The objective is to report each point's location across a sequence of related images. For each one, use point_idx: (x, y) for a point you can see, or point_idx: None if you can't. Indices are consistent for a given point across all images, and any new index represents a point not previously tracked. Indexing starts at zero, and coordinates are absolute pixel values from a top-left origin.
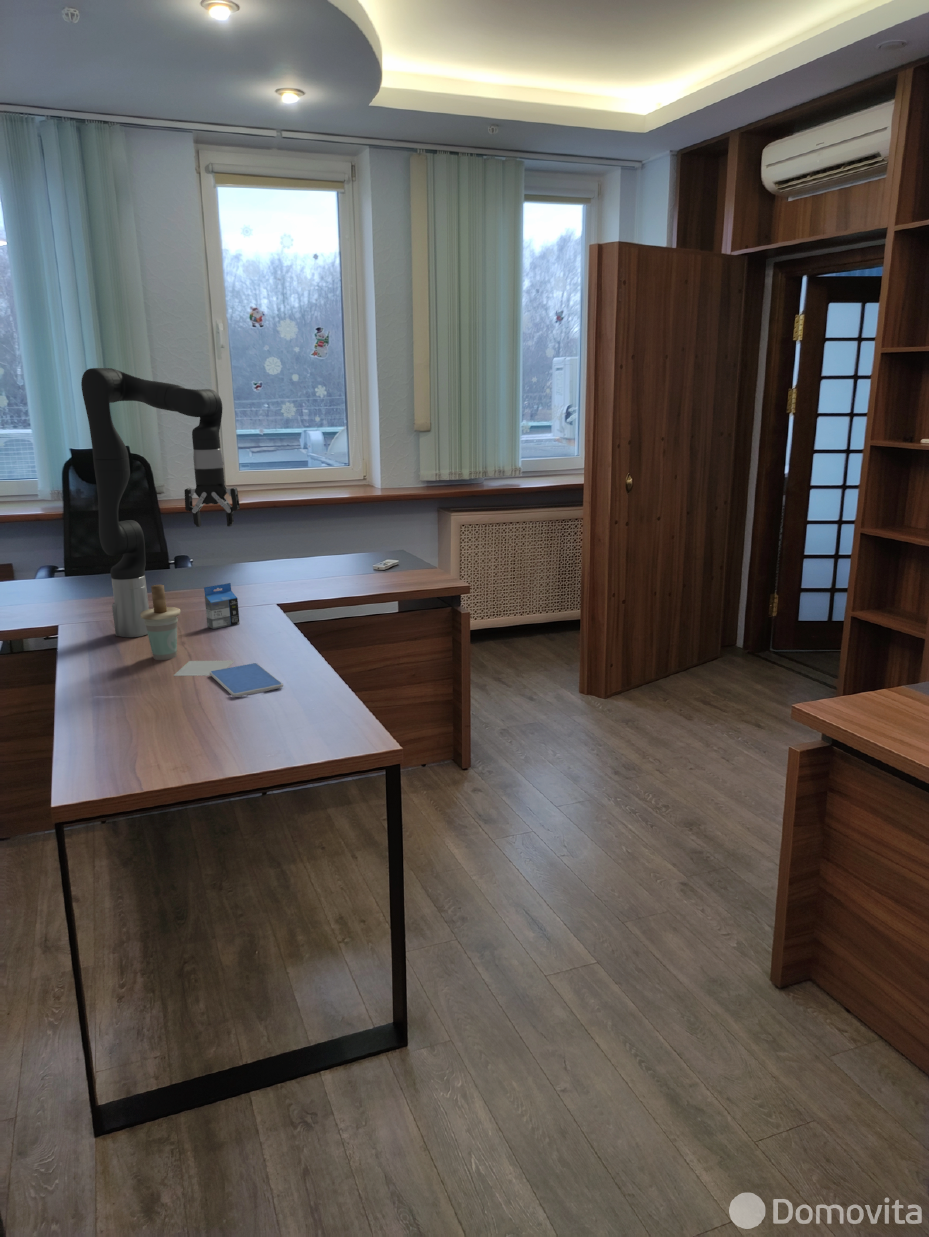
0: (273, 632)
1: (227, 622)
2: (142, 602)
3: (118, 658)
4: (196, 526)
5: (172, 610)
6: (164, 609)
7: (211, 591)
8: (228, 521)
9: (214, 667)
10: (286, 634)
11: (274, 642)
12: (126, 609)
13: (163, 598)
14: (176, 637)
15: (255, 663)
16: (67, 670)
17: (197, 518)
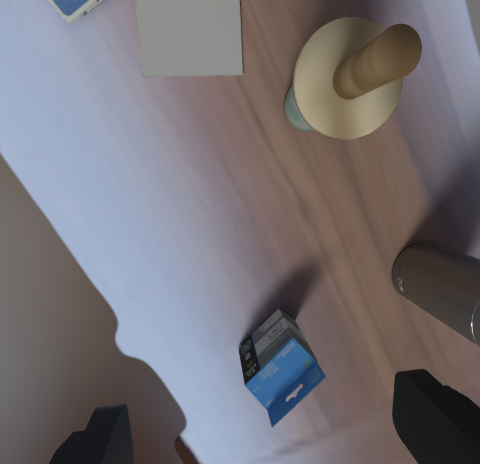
0: (143, 295)
1: (257, 332)
2: (445, 285)
3: (397, 104)
4: (420, 370)
5: (319, 96)
6: (338, 68)
7: (306, 379)
8: (87, 445)
9: (168, 23)
10: (109, 283)
11: (112, 225)
12: (468, 258)
13: (354, 57)
14: (290, 102)
15: (66, 14)
16: (469, 20)
17: (465, 431)
